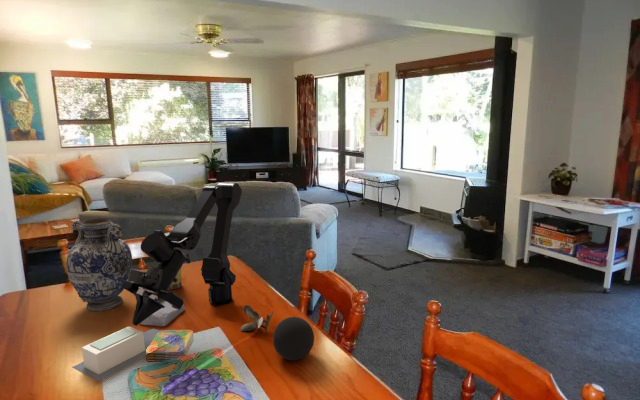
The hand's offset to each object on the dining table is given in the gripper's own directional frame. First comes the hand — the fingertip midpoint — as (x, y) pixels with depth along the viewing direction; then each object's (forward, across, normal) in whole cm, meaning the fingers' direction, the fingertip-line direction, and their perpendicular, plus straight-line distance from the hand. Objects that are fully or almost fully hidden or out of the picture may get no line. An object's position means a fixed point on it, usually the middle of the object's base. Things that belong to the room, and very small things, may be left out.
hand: (134, 324), depth 104 cm
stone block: (-5, -10, +16) cm, 20 cm away
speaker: (-7, +37, +18) cm, 41 cm away
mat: (+6, 0, +4) cm, 7 cm away
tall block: (+2, 0, +3) cm, 4 cm away
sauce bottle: (-18, -28, +29) cm, 44 cm away
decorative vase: (-4, -35, +14) cm, 38 cm away
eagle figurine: (-11, +19, +22) cm, 31 cm away
